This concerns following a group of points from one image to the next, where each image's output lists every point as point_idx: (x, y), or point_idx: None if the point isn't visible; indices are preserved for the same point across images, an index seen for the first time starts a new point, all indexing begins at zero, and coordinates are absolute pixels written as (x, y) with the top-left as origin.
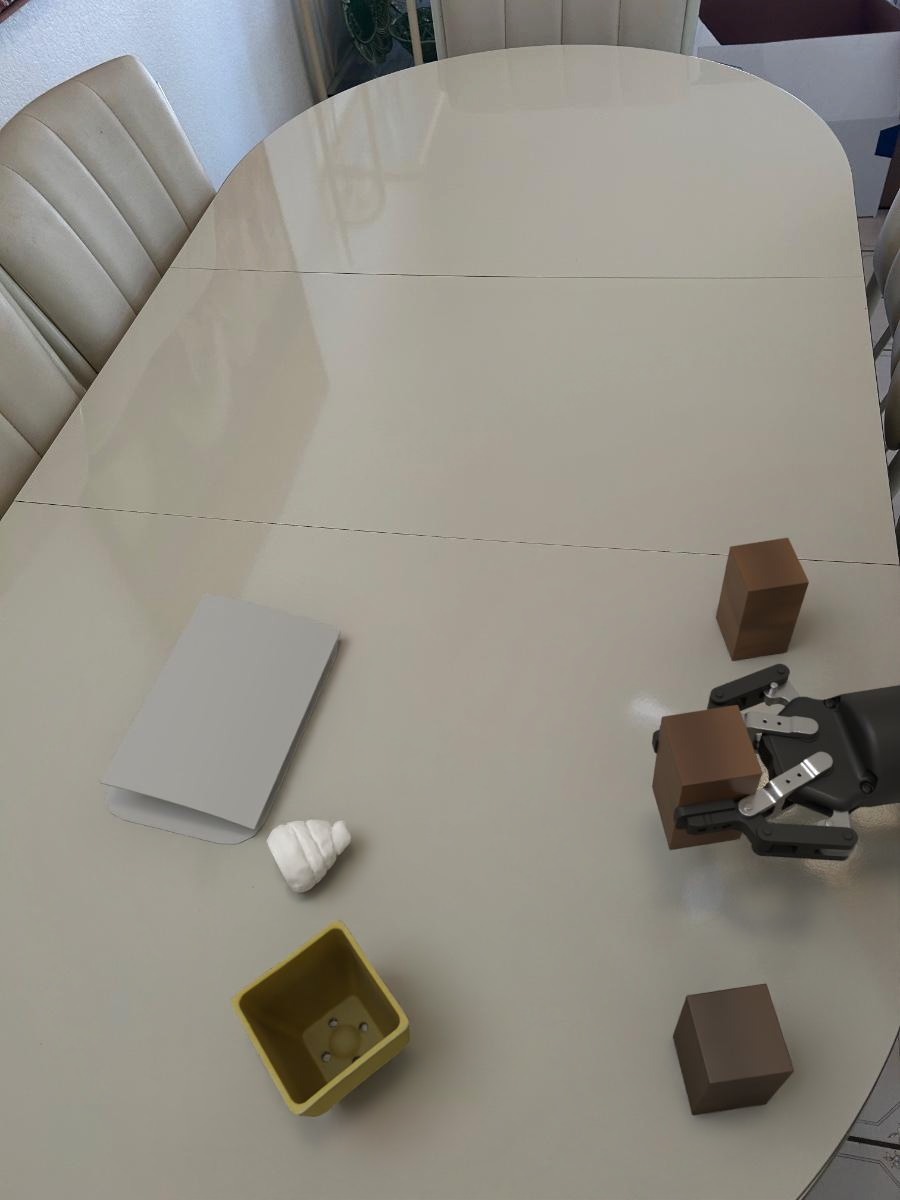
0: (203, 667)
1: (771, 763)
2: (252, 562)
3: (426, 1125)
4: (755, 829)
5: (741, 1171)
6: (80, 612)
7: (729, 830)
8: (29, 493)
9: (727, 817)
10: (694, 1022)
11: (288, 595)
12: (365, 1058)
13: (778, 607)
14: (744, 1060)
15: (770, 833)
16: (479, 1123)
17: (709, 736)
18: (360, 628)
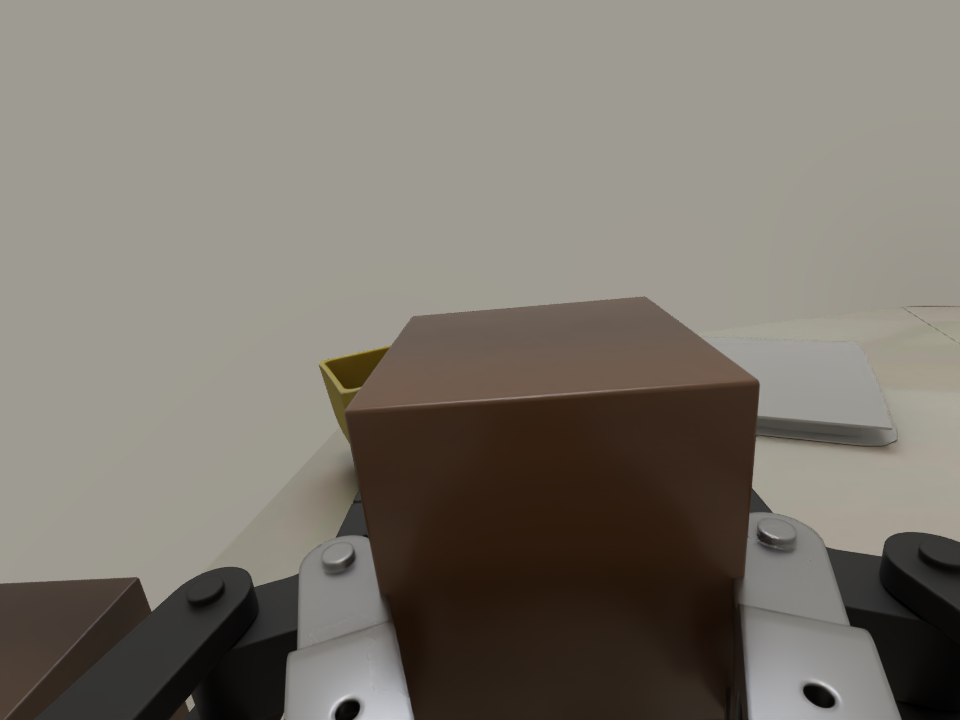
0: (761, 350)
1: None
2: (956, 391)
3: (308, 511)
4: (261, 596)
5: None
6: (805, 337)
7: None
8: (917, 309)
9: (350, 530)
10: (90, 580)
11: (928, 412)
12: (332, 378)
13: None
14: None
15: (187, 597)
16: (283, 545)
17: (567, 337)
18: (924, 460)
